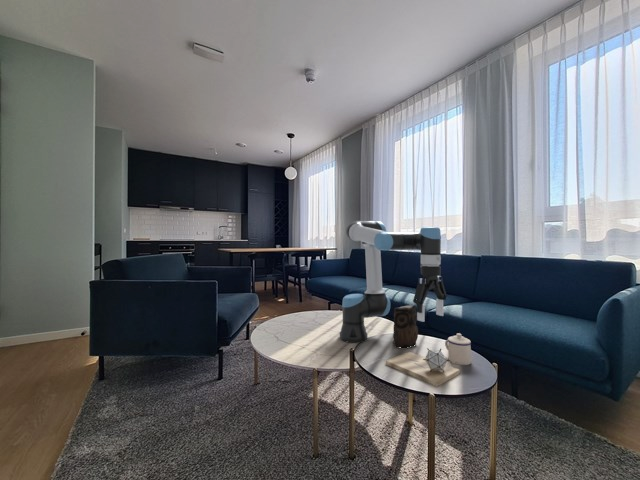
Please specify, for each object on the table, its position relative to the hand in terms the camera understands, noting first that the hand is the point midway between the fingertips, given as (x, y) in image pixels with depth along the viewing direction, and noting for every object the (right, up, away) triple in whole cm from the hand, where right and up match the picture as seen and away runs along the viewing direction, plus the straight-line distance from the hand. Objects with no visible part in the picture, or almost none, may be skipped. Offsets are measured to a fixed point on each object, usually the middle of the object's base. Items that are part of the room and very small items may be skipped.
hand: (430, 318), depth 108 cm
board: (-4, -21, +1) cm, 21 cm away
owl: (-2, -22, +29) cm, 36 cm away
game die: (0, -19, -4) cm, 20 cm away
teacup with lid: (+15, -21, +9) cm, 27 cm away
